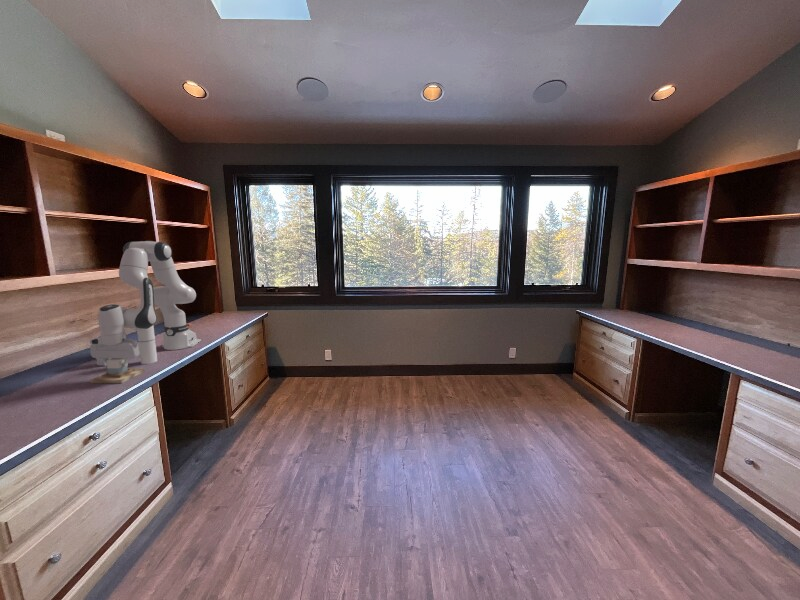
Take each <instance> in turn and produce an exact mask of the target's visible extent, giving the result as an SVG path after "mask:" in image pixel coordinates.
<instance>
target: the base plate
mask: <svg viewBox="0 0 800 600" xmlns="http://www.w3.org/2000/svg"><path fill="white" fill-rule="evenodd" d="M143 373H145V368H128V371H126V372H124V373H122V374H120V375H108V372H106V373H105V372H104V373H103V374H100V375H99V376H97V377H94V378H92V379H90V380H89V383H90V384H123V383H125V382H127V381H129V380H131V379H134V378H135V377H136V376H139V375H140V374H143Z"/></svg>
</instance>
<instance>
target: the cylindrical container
mask: <svg viewBox="0 0 800 600" xmlns="http://www.w3.org/2000/svg"><path fill="white" fill-rule="evenodd" d="M154 327H155V326H154V325H153V326H151V327H150V328H148V329H142V328H136V331H137V332H136V333H137V344H138V348H139V352H140V355H139V357H140V364H141V365H150V364H155V363H156V362H158V356H157V355H158V354H157V346H156V336H155V328H154Z"/></svg>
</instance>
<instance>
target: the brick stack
mask: <svg viewBox="0 0 800 600" xmlns="http://www.w3.org/2000/svg"><path fill="white" fill-rule="evenodd" d="M106 361H107V366H106V367H107V373H108V375H120V374H122V373H124V372H126V371H128V369H129V368H128V366H126V367H122V363H124V361H125V360H123V358H111V359H109V360H106Z"/></svg>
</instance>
